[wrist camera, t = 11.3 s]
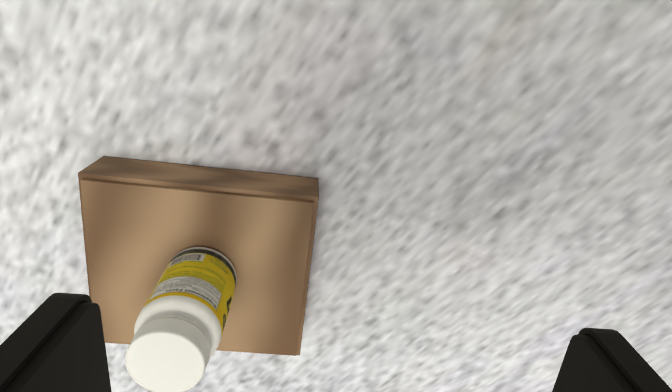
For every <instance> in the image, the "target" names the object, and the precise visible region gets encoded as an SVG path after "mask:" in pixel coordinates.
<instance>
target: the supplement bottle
mask: <svg viewBox="0 0 672 392" xmlns="http://www.w3.org/2000/svg"><path fill="white" fill-rule="evenodd" d="M236 283H237V276H236V271H235V269H234V266H233V265H232V263H231V262H230V260H229V259H228V258H227V257H226V256H224V255H223V254H221V253H220V252H218V251H216V250H213V249H210V248H206V247H192V248H188V249H185V250H183V251H181V252H179V253H178V254H176V255H175V256H174V257H173V258H172V259H171V261H170V262H169V264H168V265H167V267H166V269H165V271H164V272H163V274H162V276H161V278H160V279H159V281H158V283H157V285H156V286H155V288H154V290H153V291H152V293H151V295H150V296H149V298H148V300H147V302H146V303H145V305H144V307H143V308H142V310H141V312H140V314H139V315H138V317H137V320H136V323H135V327H134V337H133V339H132V341H131V343H130V345H129V347H128V349H127V351H126V356H125V364H126V368H127V371H128V372H129V374H130V376H131V377H132V378H133V379H134V381H136V382H137V383H138V384H139V385H141V386H142V387H144V388H146V389H148V390H150V391H153V392H184V391H186V390H188V389H190V388H192V387H193V386H195V385H196V384H197V383H198V382H199V381H200V379H201V378H202V376H203V374H204V371H205V368H206V366H207V364H208V362H209V359H210V357H211V356H212V355H213V354H214V353H215V351H216V350H217V348H218V346H219V344H220V341H221V337H222V334H223V330H224V327H225V323H226V320H227V316H228V313H229V309H230V306H231V302H232V299H233V295H234V292H235V288H236Z"/></svg>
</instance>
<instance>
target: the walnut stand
mask: <svg viewBox="0 0 672 392" xmlns="http://www.w3.org/2000/svg"><path fill="white" fill-rule="evenodd" d="M78 178H79V189H80V200H81V210H82V221H83V231H84V242H85V253H86V263H87V274H88V285H89V295H90V298H91V300H92V303H97V304H98V305H99V306H100V311H101V318H102V326H103V333H104V341H105V343H119V344H130V343H131V341H132V339H133V337H134V327H135V323H136V320H137V317H138V315H139V314H140V312H141V310H142V308H143V307H144V305H145V303H146V302H147V300H148V298H149V296H150V295H151V293H152V291H153V290H154V288H155V286H156V285H157V283H158V281H159V279H160V278H161V276H162V274H163V272H164V271H165V269H166V267H167V265H168V264H169V262H170V261H171V259H172V258H173V257H174V256H175V255H176V254H178V253H179V252H181V251H183V250H185V249H188V248H192V247H206V248H210V249H213V250H216V251H218V252H220V253H221V254H223V255H224V256H226V257H227V258H228V259H229V260H230V262H231V263H232V265H233V266H234V269H235V271H236V276H237V283H236V288H235V292H234V295H233V299H232V302H231V306H230V309H229V313H228V316H227V320H226V323H225V327H224V330H223V334H222V337H221V341H220V344H219V346H218V348H217V350H221V351H236V352H251V353H265V354H280V355H294V356H296V355H300V349H301V340H302V332H303V324H304V315H305V307H306V299H307V290H308V282H309V274H310V265H311V257H312V249H313V240H314V232H315V224H316V216H317V207H318V199H319V186H318V178H310V177H301V176H291V175H281V174H272V173H262V172H252V171H243V170H233V169H223V168H214V167H204V166H194V165H185V164H175V163H166V162H156V161H146V160H137V159H127V158H117V157H108V156H103V157H101V158H100V159H98V160H97V161H95V162H94V163H92V164H91V165H89V166H88V167H86V168H85V169H83V170H82V171H80V172H79V173H78Z"/></svg>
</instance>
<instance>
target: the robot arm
mask: <svg viewBox="0 0 672 392" xmlns="http://www.w3.org/2000/svg"><path fill="white" fill-rule="evenodd" d="M0 392H111V386H110V378H109V371H108V363H107V356H106V348H105V341H104V333H103V326H102V318H101V311H100V306H99V305H98V304H97V303H92V300H91V298H90V297H89V296H88V295H84V294H69V293H54V294H52V295H51V296H50V297H49V298H48V299H47V300H46V301H45V302H44V303H43V304H41V305H40V306H39V307H38V308H37V309H36V310H35V311H34V312H33V313H32V314H31V315H30V316H29V317H28V318H27V319H26V320H25V321H24V322H23V323H22V324H21V325H20V326H19V327H18V328H17V329H16V330H15V331H14V332H13V333H12V334H11V335H10V336H9V337H8V338H7V339H6V340H5V341H4V342H3V343H2V344H1V345H0ZM552 392H672V390H671V388H670V387H669V386H668V385H667V384H666V383H665V382H664V381H663V380H662V379H661V378H660V376H659V375H658V374H657V373H656V372H655V371H654V370H653V369H652V368H651V367H650V365H649V364H648V363H647V362H646V361H645V360H644V359H643V358H642V357H641V356H640V355H639V353H638V352H637V351H636V350H635V349H634V348H633V347H632V346H631V345H630V344H629V342H628V341H627V340H626V339H625V338H624V337H623V336H622V335H621V334H620V333H619V332H618V331H615V330H611V329H596V328H584V329H582V330H581V331H580V332H579V334H578V335H574V336H573V337H572V338H571V340H570V343H569V346H568V348H567V351H566V354H565V357H564V360H563V363H562V365H561V368H560V371H559V374H558V377H557V380H556V382H555V385H554V388H553V391H552Z"/></svg>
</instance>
